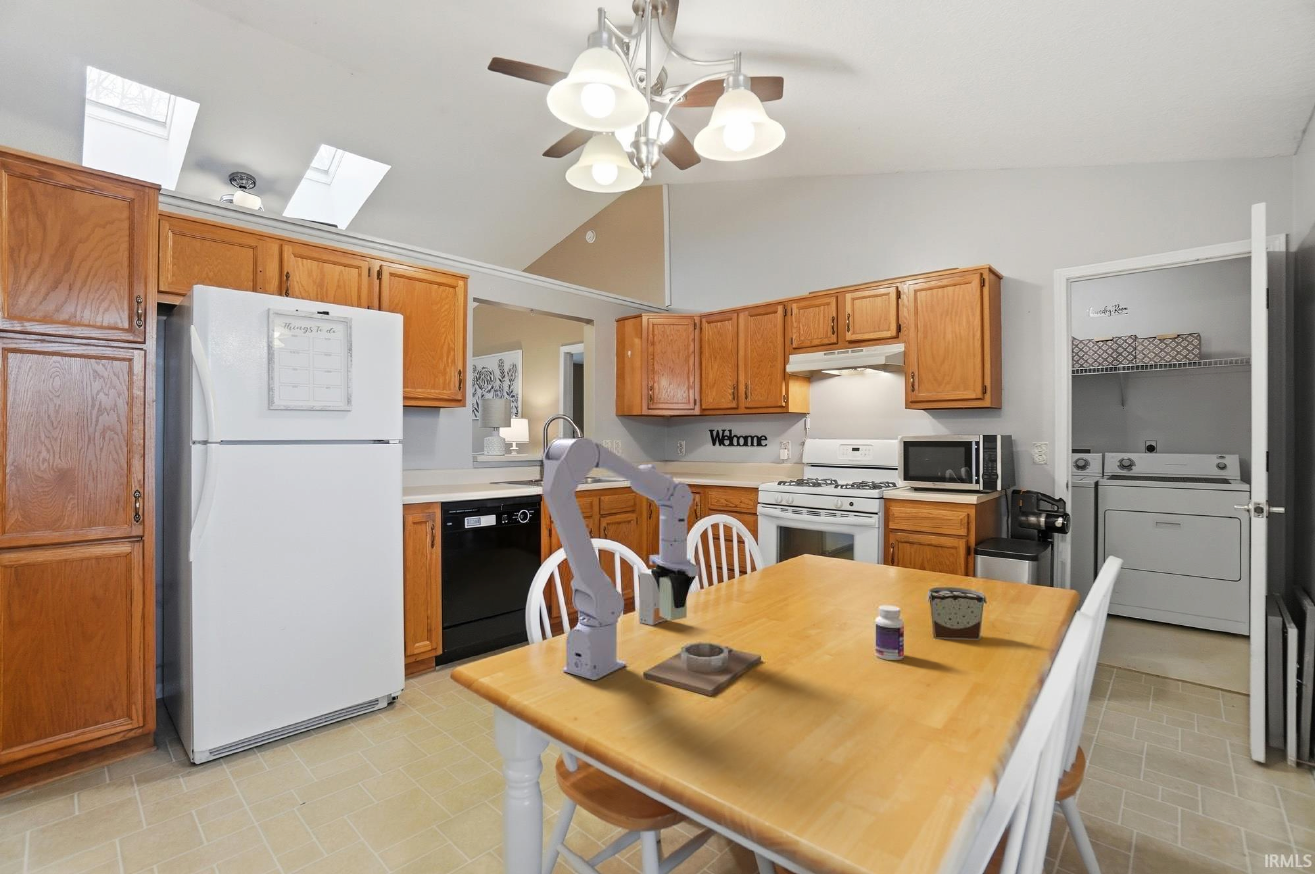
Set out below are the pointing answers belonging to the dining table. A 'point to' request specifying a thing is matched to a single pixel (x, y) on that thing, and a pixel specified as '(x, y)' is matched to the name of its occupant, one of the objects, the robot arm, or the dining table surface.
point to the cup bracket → (702, 667)
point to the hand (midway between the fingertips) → (673, 604)
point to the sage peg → (669, 601)
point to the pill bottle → (889, 633)
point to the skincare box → (649, 599)
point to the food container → (956, 612)
